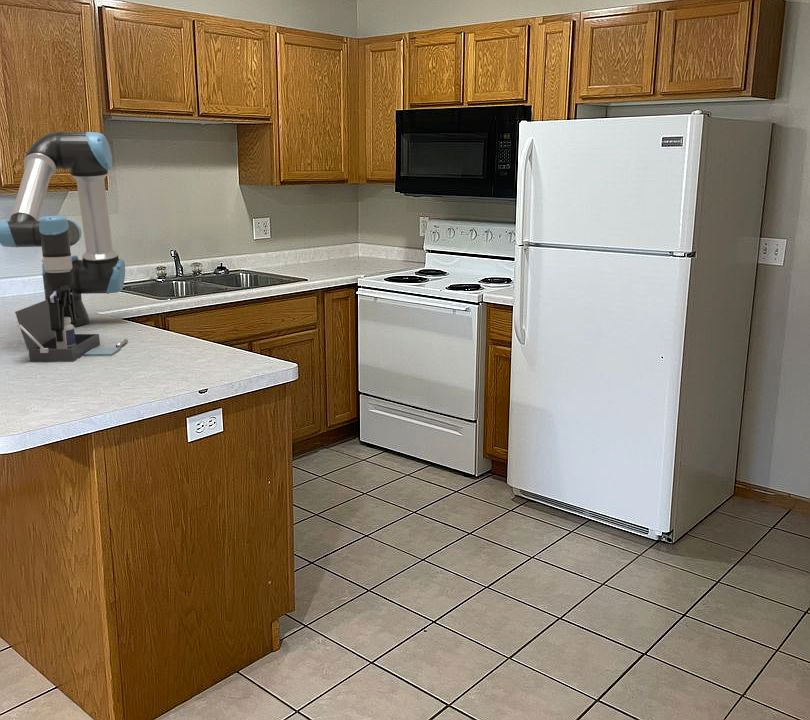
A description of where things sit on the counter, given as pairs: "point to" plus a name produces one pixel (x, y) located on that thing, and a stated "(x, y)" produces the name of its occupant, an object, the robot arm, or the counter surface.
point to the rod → (122, 343)
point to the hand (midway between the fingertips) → (66, 349)
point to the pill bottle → (69, 333)
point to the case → (49, 336)
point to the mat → (102, 352)
